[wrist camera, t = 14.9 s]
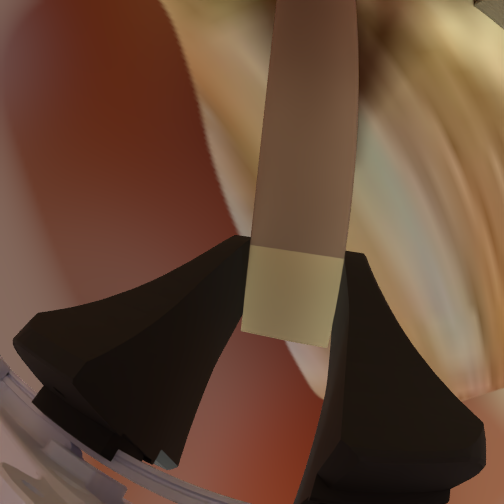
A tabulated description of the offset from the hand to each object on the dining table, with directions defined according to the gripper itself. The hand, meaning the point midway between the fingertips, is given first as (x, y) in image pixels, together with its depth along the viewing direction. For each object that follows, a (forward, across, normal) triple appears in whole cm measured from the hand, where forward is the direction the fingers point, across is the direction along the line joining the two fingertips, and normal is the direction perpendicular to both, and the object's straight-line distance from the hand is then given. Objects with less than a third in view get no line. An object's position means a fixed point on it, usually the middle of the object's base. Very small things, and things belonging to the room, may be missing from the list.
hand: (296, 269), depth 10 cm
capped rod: (+4, 0, -3) cm, 5 cm away
